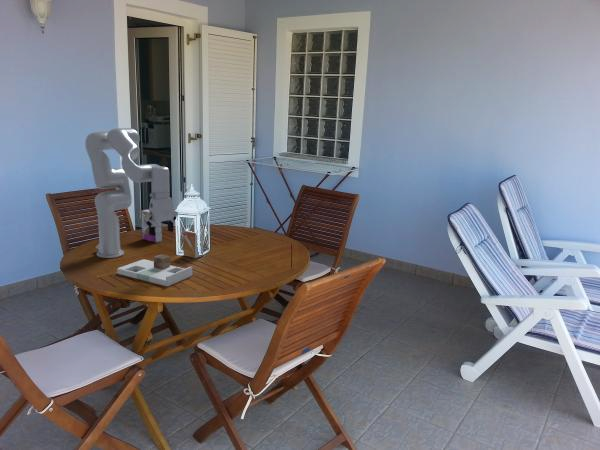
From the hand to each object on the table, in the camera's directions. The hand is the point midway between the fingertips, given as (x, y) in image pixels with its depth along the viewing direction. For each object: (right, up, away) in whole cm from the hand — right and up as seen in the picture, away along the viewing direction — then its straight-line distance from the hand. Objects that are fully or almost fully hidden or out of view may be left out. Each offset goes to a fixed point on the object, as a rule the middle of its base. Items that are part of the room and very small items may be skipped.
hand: (161, 233), depth 216 cm
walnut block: (-1, -15, +4) cm, 16 cm away
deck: (-4, -18, +1) cm, 19 cm away
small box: (+7, -12, +31) cm, 34 cm away
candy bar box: (-21, -5, +54) cm, 58 cm away
